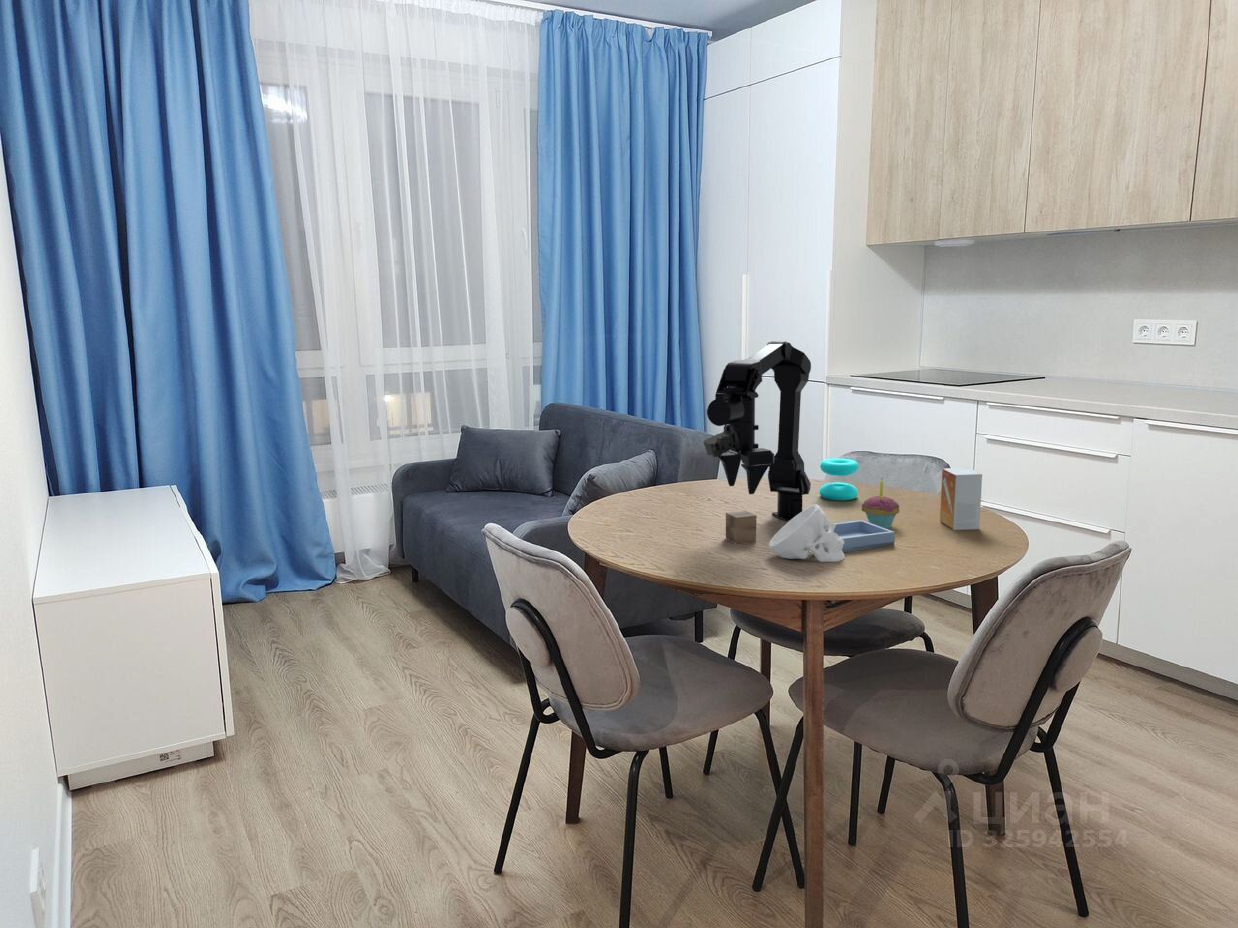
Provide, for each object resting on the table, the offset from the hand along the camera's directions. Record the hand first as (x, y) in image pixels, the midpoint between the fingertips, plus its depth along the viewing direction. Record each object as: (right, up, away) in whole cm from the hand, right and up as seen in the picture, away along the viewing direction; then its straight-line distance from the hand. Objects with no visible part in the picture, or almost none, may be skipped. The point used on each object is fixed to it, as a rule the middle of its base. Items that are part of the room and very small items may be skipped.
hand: (741, 489), depth 201 cm
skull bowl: (+12, -14, -12) cm, 22 cm away
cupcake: (+34, -9, +11) cm, 37 cm away
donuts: (+32, -3, +42) cm, 53 cm away
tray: (+24, -11, -2) cm, 27 cm away
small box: (+52, -9, +11) cm, 54 cm away
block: (0, -11, +2) cm, 12 cm away
